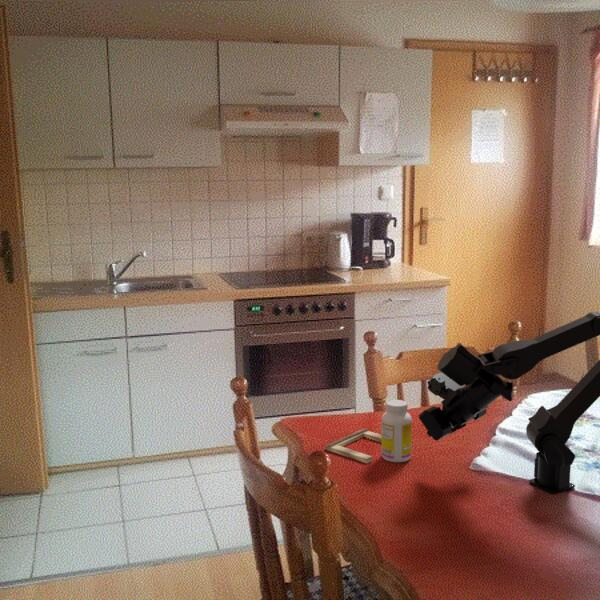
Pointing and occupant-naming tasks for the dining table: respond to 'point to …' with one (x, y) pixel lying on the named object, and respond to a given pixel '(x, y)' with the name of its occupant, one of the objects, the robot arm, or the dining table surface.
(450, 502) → the dining table surface
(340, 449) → the frame
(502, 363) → the robot arm
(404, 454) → the supplement bottle
